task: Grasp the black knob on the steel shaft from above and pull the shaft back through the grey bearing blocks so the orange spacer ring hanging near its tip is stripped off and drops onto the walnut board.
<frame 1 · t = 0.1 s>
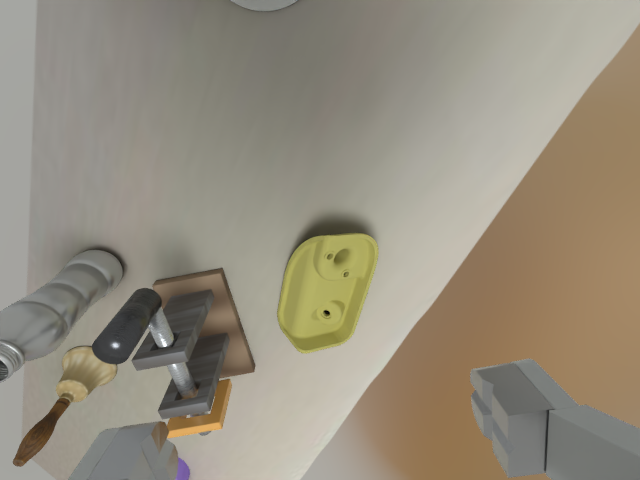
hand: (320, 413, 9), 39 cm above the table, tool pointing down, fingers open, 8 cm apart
shaft frame: (210, 328, 55), on the table
shaft: (167, 388, 39), point 15 cm above the table, slide at 0.0 cm, touching spacer
hand bell: (91, 364, 57), on the table
spacer: (200, 406, 46), point 11 cm above the table, touching shaft
plastic bottle: (104, 264, 49), on the table
masking tape: (159, 469, 68), on the table
plastic component: (327, 276, 53), on the table
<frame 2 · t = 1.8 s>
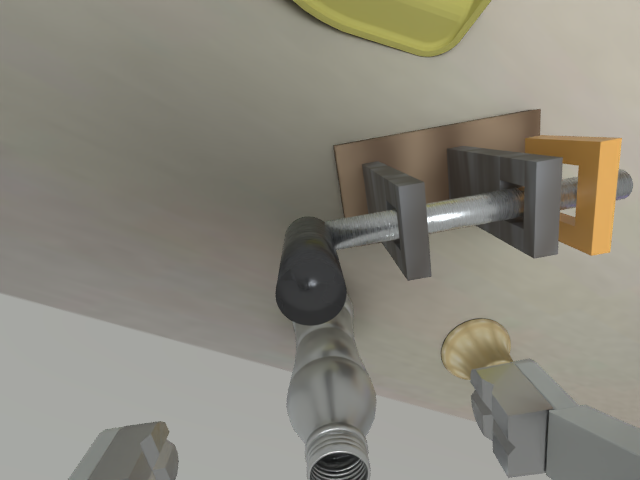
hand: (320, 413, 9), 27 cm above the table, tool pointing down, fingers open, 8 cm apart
shaft frame: (439, 178, 34), on the table
shaft: (476, 229, 20), point 16 cm above the table, slide at 0.0 cm, touching spacer
hand bell: (474, 347, 41), on the table
spacer: (563, 189, 24), point 11 cm above the table, touching shaft
plastic bottle: (321, 300, 38), on the table
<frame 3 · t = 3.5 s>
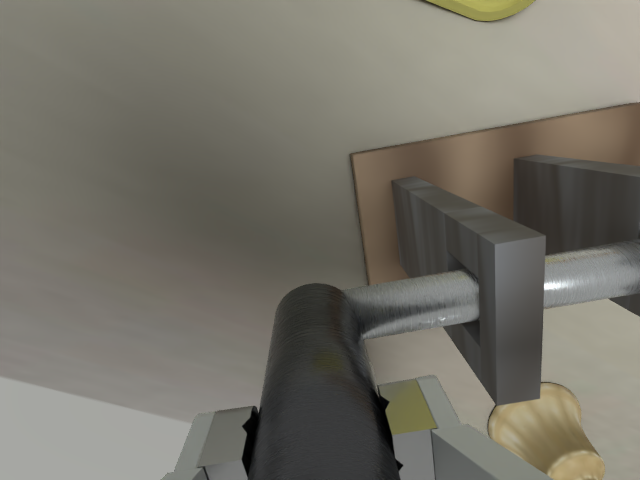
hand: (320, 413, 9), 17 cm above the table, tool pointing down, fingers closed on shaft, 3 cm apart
shaft frame: (498, 199, 25), on the table
hand bell: (531, 417, 31), on the table
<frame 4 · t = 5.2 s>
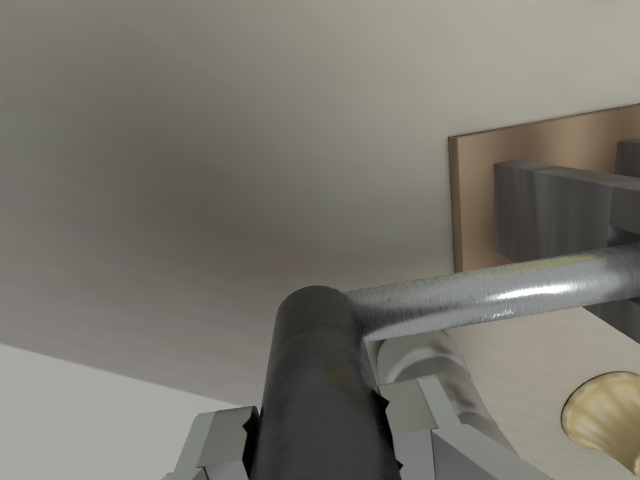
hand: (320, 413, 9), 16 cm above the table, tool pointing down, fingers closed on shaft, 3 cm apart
shaft frame: (591, 185, 24), on the table
hand bell: (604, 407, 31), on the table
plastic bottle: (409, 348, 28), on the table
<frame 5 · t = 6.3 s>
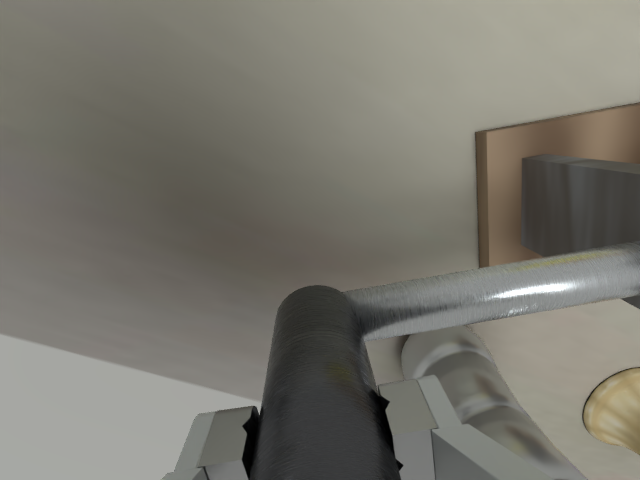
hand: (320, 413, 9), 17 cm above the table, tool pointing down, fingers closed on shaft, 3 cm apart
shaft frame: (617, 179, 24), on the table
hand bell: (626, 403, 31), on the table
plastic bottle: (432, 344, 28), on the table
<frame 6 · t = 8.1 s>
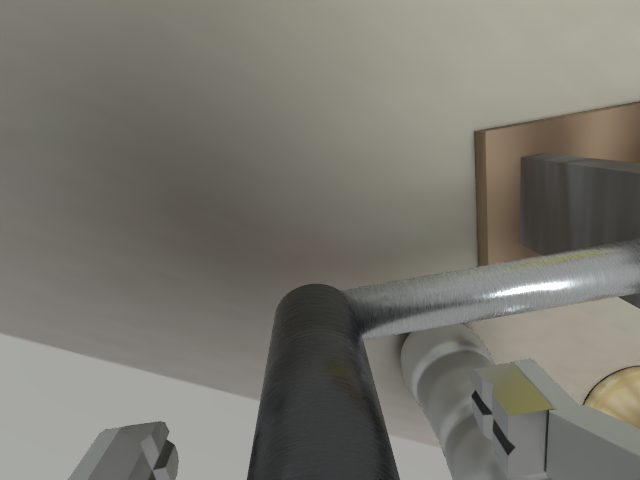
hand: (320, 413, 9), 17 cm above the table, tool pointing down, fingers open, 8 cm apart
shaft frame: (616, 178, 24), on the table
hand bell: (625, 402, 31), on the table
plastic bottle: (432, 343, 28), on the table
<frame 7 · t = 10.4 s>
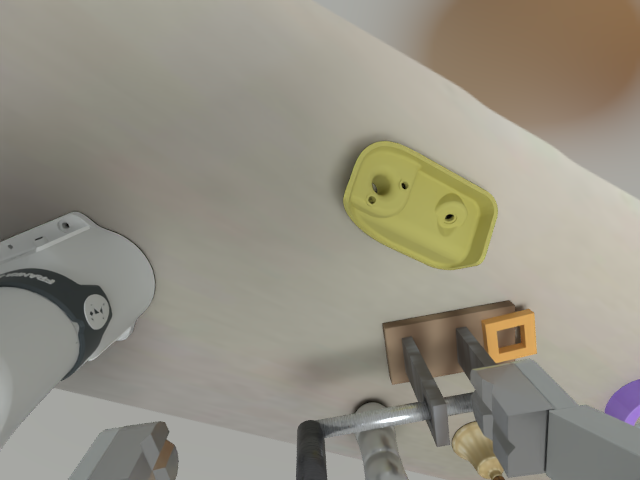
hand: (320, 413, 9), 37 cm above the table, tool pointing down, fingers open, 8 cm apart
shaft frame: (450, 339, 53), on the table
shaft: (397, 441, 38), point 15 cm above the table, slide at 8.5 cm
hand bell: (474, 438, 59), on the table
spacer: (509, 337, 50), point 2 cm above the table, tilted 90°, touching shaft frame
plastic bottle: (370, 412, 56), on the table
masking tape: (636, 404, 59), on the table
plastic component: (409, 201, 46), on the table
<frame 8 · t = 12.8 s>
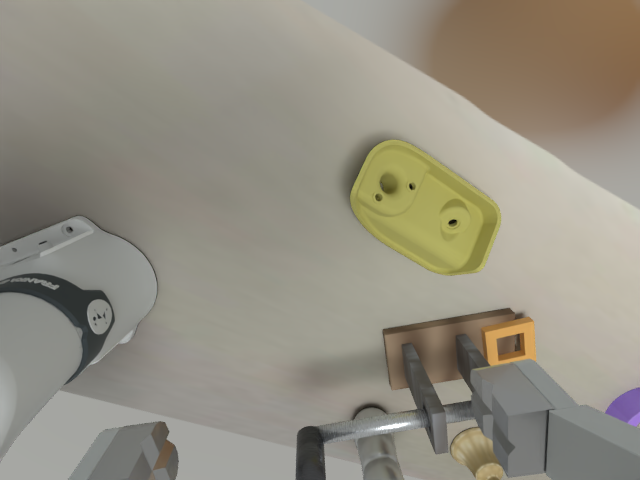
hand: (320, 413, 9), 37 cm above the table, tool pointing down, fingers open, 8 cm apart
shaft frame: (450, 346, 53), on the table
shaft: (396, 449, 38), point 15 cm above the table, slide at 8.5 cm
hand bell: (473, 444, 60), on the table
spacer: (508, 344, 51), point 2 cm above the table, tilted 90°, touching shaft frame
plastic bottle: (369, 417, 57), on the table
masking tape: (635, 412, 59), on the table
plastic component: (414, 203, 46), on the table
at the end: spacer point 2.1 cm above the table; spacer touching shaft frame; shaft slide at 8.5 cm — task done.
